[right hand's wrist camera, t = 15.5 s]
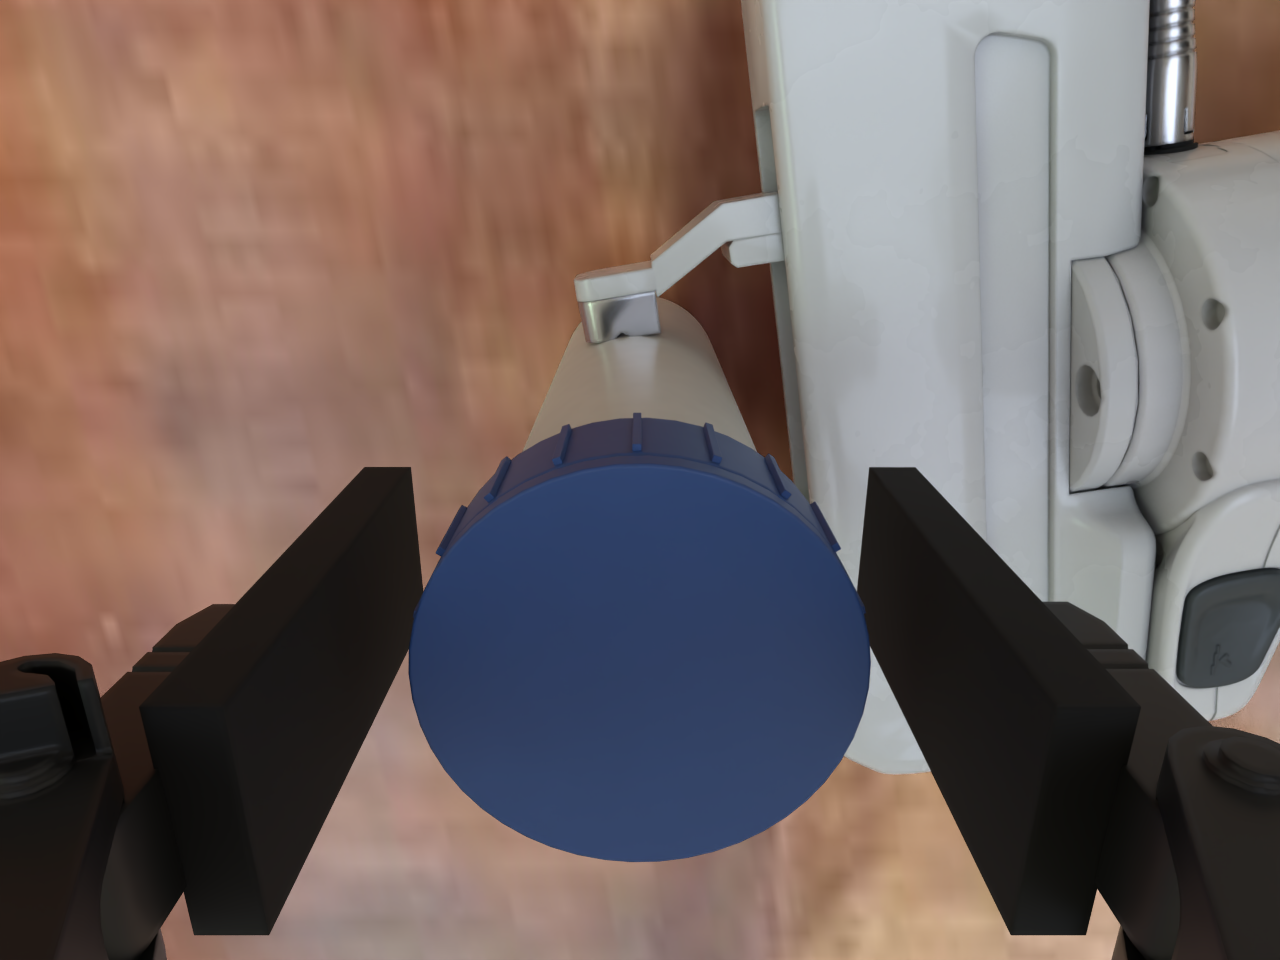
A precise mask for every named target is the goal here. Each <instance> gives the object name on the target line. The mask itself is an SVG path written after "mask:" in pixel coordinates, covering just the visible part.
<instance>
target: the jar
mask: <svg viewBox="0 0 1280 960" xmlns="http://www.w3.org/2000/svg"><path fill="white" fill-rule="evenodd" d="M656 300H657V307H658V314H659V322H660V330H661V333H657V334H651V335H645V336H633V337H630V336H628V335H626V334H624V333H622V332H621V333H620V334H619V335H618V336H617V337H616V338H615V339H613V340H610V341H607V342H603V343H587V342H586V340H585V335H584V331H583V326H582V321H581V323H580V324H579V325H578V326H577V328H576V330H575V331H574V333H573V334H572V337H571V339H570V341H569V343H568V345H567V348H566V350H565V352H564V355H563V357H562V359H561V362H560V364H559V367H558V369H557V371H556V374H555V376H554V378H553V381H552V383H551V385H550V388H549V390H548V392H547V395H546V397H545V400H544V402H543V404H542V407H541V409H540V411H539V414H538V416H537V418H536V421H535V423H534V425H533V428H532V430H531V433H530V435H529V437H528V440H527V442H526V444H525V447H524V449H523V451H525V450H527V449H528V448H530V447H532V446H533V445H535V444H537V443H538V442H540V441H542V440H544V439H547V438H549V437H551V436H554V435H556V434H558V433H560V432H561V428H562V426H564V425H567V424H570V426H571V429H572V428H575V427H579V426H582V425H586V424H589V423H593V422H600V421H606V420H613V419H619V418H633V413H641V418H656V419H666V420H676V421H680V422H685V423H689V424H693V425H698V426H702V427H704V424H705V423H709V424H712V425H713V428H714V431H716V432H718V433H721V434H724V435H726V436H729V437H731V438H733V439H735V440H737V441H738V442H740V443H742V444H744V445H746V446H748V447H750V448H752V449H753V450H755V451H756V448H755V446H754V444H753V441H752V439H751V436H750V434H749V432H748V429H747V427H746V425H745V422H744V420H743V418H742V415H741V413H740V410H739V408H738V406H737V403H736V401H735V399H734V396H733V394H732V392H731V389H730V387H729V384H728V382H727V380H726V377H725V375H724V373H723V370H722V368H721V366H720V363H719V361H718V358H717V356H716V354H715V351H714V349H713V347H712V344H711V342H710V340H709V338H708V335H707V334H706V332H705V330H704V329H703V327H702V326H701V325H700V323H699V322H698V321H697V320H696V319H695V318H694V317H693V316H692V315H691V314H690V313H689V312H688V311H686V310H685V309H684V308H682V307H681V306H679V305H677V304H675V303H673V302H671V301H669V300H666V299H663V298H661V297H656ZM523 451H522V452H523ZM756 452H757V451H756Z"/></svg>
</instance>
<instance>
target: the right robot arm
mask: <svg viewBox="0 0 1280 960" xmlns="http://www.w3.org/2000/svg"><path fill="white" fill-rule="evenodd" d="M422 593H423V584H422V574H421V564H420V554H419V544H418V534H417V524H416V514H415V504H414V494H413V484H412V474H411V467H364V468H363V469H362V470H361V471H360V473H359V474H358V475H357V476H356V477H355V478H354V479H353V480H352V481H351V482H350V483H349V484H348V485H347V486H346V487H345V488H344V490H343V491H342V492H341V493H340V494H339V495H338V496H337V497H336V498H335V499H334V500H333V501H332V502H331V503H330V504H329V505H328V506H327V508H326V509H325V510H324V511H323V512H322V513H321V514H320V515H319V516H318V517H317V518H316V519H315V520H314V521H313V522H312V523H311V525H310V526H309V527H308V528H307V529H306V530H305V531H304V532H303V533H302V534H301V535H300V536H299V537H298V538H297V539H296V540H295V542H294V543H293V544H292V545H291V546H290V547H289V548H288V549H287V550H286V551H285V552H284V553H283V554H282V555H281V556H280V557H279V559H278V560H277V561H276V562H275V563H274V564H273V565H272V566H271V567H270V568H269V569H268V570H267V571H266V572H265V573H264V574H263V575H262V577H261V578H260V579H259V580H258V581H257V582H256V583H255V584H254V585H253V586H252V587H251V588H250V589H249V590H248V591H247V592H246V594H245V595H244V596H243V597H242V598H241V599H240V600H239V601H238V602H237V603H236V604H213V605H211V606H209V607H207V608H205V609H203V610H202V611H200V612H198V613H196V614H194V615H192V616H191V617H189V618H187V619H185V620H183V621H182V622H180V623H178V624H176V625H175V626H174V627H173V628H172V629H171V630H170V631H169V632H168V633H167V634H166V635H165V636H164V637H163V638H162V639H161V640H160V641H159V642H158V643H157V644H156V645H155V646H154V647H153V650H152V652H147V653H146V654H145V655H144V656H143V657H142V658H141V659H140V660H139V661H138V662H137V663H136V664H135V665H134V666H133V670H132V672H127V673H126V674H125V675H124V676H123V677H122V678H121V679H120V680H119V681H118V682H116V683H115V684H114V685H113V686H112V687H111V688H110V689H109V690H108V691H107V692H106V693H105V694H104V695H103V696H102V697H101V698H100V695H99V691H98V687H97V683H96V679H95V675H94V672H93V668H92V665H91V664H90V663H88V662H87V661H85V660H84V659H82V658H81V657H79V656H73V655H65V654H57V653H52V654H41V655H30V656H23V657H19V658H15V659H11V660H6V661H2V662H0V960H167V957H166V950H165V945H164V941H163V937H162V933H161V929H160V928H161V926H162V925H163V923H164V921H165V920H166V918H167V917H168V915H169V914H170V912H171V910H172V909H173V907H174V906H175V904H176V903H177V901H178V899H179V898H180V896H181V895H182V893H183V892H184V895H185V899H186V904H187V908H188V912H189V916H190V920H191V924H192V928H193V932H194V935H269V934H270V932H271V930H272V928H273V926H274V924H275V922H276V920H277V918H278V916H279V914H280V912H281V910H282V908H283V906H284V904H285V901H286V899H287V897H288V895H289V893H290V891H291V889H292V887H293V885H294V883H295V881H296V879H297V877H298V875H299V873H300V871H301V869H302V867H303V865H304V863H305V860H306V858H307V856H308V854H309V852H310V850H311V848H312V846H313V844H314V842H315V840H316V838H317V836H318V834H319V832H320V830H321V828H322V826H323V824H324V822H325V819H326V817H327V815H328V813H329V811H330V809H331V807H332V805H333V803H334V801H335V799H336V797H337V795H338V793H339V791H340V789H341V787H342V785H343V783H344V781H345V778H346V776H347V774H348V772H349V770H350V768H351V766H352V764H353V762H354V760H355V758H356V756H357V754H358V752H359V750H360V748H361V746H362V744H363V742H364V740H365V737H366V735H367V733H368V731H369V729H370V727H371V725H372V723H373V721H374V719H375V717H376V715H377V713H378V711H379V709H380V707H381V705H382V703H383V701H384V699H385V697H386V694H387V692H388V690H389V688H390V686H391V684H392V682H393V680H394V678H395V676H396V674H397V672H398V670H399V668H400V666H401V664H402V662H403V660H404V658H405V656H406V653H407V651H408V649H409V644H410V637H411V631H412V625H413V620H414V618H413V613H414V610H415V608H416V606H417V604H418V602H419V600H420V598H421V596H422ZM857 593H858V595H859V597H860V598H861V600H862V602H863V604H864V606H865V611H866V613H865V614H864V616H865V621H866V625H867V629H868V634H869V642H870V647H871V649H872V651H873V653H874V655H875V658H876V660H877V662H878V664H879V666H880V668H881V670H882V672H883V674H884V676H885V678H886V680H887V682H888V684H889V686H890V688H891V690H892V692H893V694H894V696H895V699H896V701H897V703H898V705H899V707H900V709H901V711H902V713H903V715H904V717H905V719H906V721H907V723H908V725H909V727H910V729H911V731H912V733H913V735H914V737H915V740H916V742H917V744H918V746H919V748H920V750H921V752H922V754H923V756H924V758H925V760H926V762H927V764H928V766H929V768H930V770H931V772H932V774H933V776H934V778H935V781H936V783H937V785H938V787H939V789H940V791H941V793H942V795H943V797H944V799H945V801H946V803H947V805H948V807H949V809H950V811H951V813H952V815H953V817H954V819H955V822H956V824H957V826H958V828H959V830H960V832H961V834H962V836H963V838H964V840H965V842H966V844H967V846H968V848H969V850H970V852H971V854H972V856H973V858H974V860H975V863H976V865H977V867H978V869H979V871H980V873H981V875H982V877H983V879H984V881H985V883H986V885H987V887H988V889H989V891H990V893H991V895H992V897H993V899H994V901H995V904H996V906H997V908H998V910H999V912H1000V914H1001V916H1002V918H1003V920H1004V922H1005V924H1006V926H1007V928H1008V930H1009V932H1010V934H1011V935H1086V932H1087V928H1088V924H1089V920H1090V916H1091V912H1092V908H1093V904H1094V900H1095V895H1096V891H1097V889H1098V890H1099V892H1100V893H1101V895H1102V897H1103V898H1104V900H1105V901H1106V903H1107V904H1108V906H1109V908H1110V909H1111V911H1112V912H1113V914H1114V915H1115V917H1116V918H1117V920H1118V922H1119V923H1120V929H1119V933H1118V937H1117V941H1116V945H1115V948H1114V952H1113V956H1112V960H1280V744H1279V743H1276V742H1274V741H1272V740H1270V739H1268V738H1265V737H1262V736H1258V735H1254V734H1251V733H1247V732H1244V731H1240V730H1237V729H1232V728H1223V727H1213V726H1212V725H1211V724H1210V723H1209V722H1208V721H1207V720H1206V719H1205V718H1204V717H1203V716H1202V715H1201V714H1200V713H1199V712H1198V711H1197V710H1196V709H1195V708H1194V707H1193V706H1192V705H1191V704H1189V703H1188V702H1187V701H1186V700H1185V699H1184V698H1183V697H1182V696H1181V695H1180V694H1179V693H1178V692H1177V691H1176V690H1175V689H1174V688H1173V687H1172V686H1171V685H1170V684H1169V683H1168V682H1167V681H1166V680H1165V679H1163V678H1162V677H1161V676H1160V675H1159V674H1158V673H1157V672H1156V671H1155V670H1154V669H1149V668H1148V663H1147V662H1146V661H1145V660H1144V659H1143V658H1142V657H1141V656H1140V655H1139V654H1137V653H1136V652H1135V651H1134V650H1133V649H1128V644H1127V643H1126V642H1125V641H1124V640H1123V639H1122V638H1121V637H1120V636H1119V635H1118V634H1117V633H1116V632H1115V631H1114V630H1113V629H1112V628H1110V627H1109V626H1108V625H1107V624H1106V623H1105V622H1104V621H1103V620H1101V619H1099V618H1097V617H1095V616H1093V615H1092V614H1090V613H1088V612H1086V611H1084V610H1082V609H1081V608H1079V607H1077V606H1075V605H1073V604H1071V603H1069V602H1042V601H1041V600H1040V599H1039V598H1038V597H1037V596H1036V595H1035V594H1034V592H1033V591H1032V590H1031V589H1030V588H1029V587H1028V586H1027V585H1026V584H1025V583H1024V582H1023V581H1022V580H1021V579H1020V578H1019V577H1018V575H1017V574H1016V573H1015V572H1014V571H1013V570H1012V569H1011V568H1010V567H1009V566H1008V565H1007V564H1006V563H1005V562H1004V561H1003V560H1002V558H1001V557H1000V556H999V555H998V554H997V553H996V552H995V551H994V550H993V549H992V548H991V547H990V546H989V545H988V544H987V543H986V542H985V540H984V539H983V538H982V537H981V536H980V535H979V534H978V533H977V532H976V531H975V530H974V529H973V528H972V527H971V526H970V525H969V523H968V522H967V521H966V520H965V519H964V518H963V517H962V516H961V515H960V514H959V513H958V512H957V511H956V510H955V509H954V508H953V506H952V505H951V504H950V503H949V502H948V501H947V500H946V499H945V498H944V497H943V496H942V495H941V494H940V493H939V492H938V491H937V490H936V488H935V487H934V486H933V485H932V484H931V483H930V482H929V481H928V480H927V479H926V478H925V477H924V476H923V475H922V474H921V473H920V471H919V470H918V469H917V468H916V467H869V474H868V484H867V494H866V504H865V514H864V524H863V534H862V544H861V554H860V564H859V574H858V585H857Z"/></svg>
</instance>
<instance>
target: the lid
mask: <svg viewBox="0 0 1280 960" xmlns="http://www.w3.org/2000/svg"><path fill="white" fill-rule="evenodd" d="M839 550H841V547H840V545H839V543H838V542H837V540H836V538H835V536H834V534H833V532H832V530H831V529H830V527H829V525H828V523H827V521H826V519H825V518H824V516H823V514H822V512H821V510H820V508H819V506H818V505H817V503H816V502H813V503H811V504H809V502H808V501H807V499H806V498H805V497H804V496H803V494H802V493H801V492H800V491H799V489H798V488H797V487H796V486H795V484H794V483H793V482H792V481H791V480H790V479H789V478H788V477H787V476H786V475H785V474H784V473H783V472H782V471H780V469H779V467H778V465H777V462H776V460H775V458H774V457H773V456H771V455H770V454H768V455H767V456H766V457H765V458H764V457H763V456H762V455H760V454H759V453H757V452H756V451H755V450H753V449H752V448H750V447H748V446H746V445H744V444H742V443H740V442H738V441H737V440H735V439H733V438H731V437H729V436H726V435H724V434H721V433H718V432H716V431H714V428H713V425H712V424H709V423H705V424H704V427H702V426H698V425H693V424H689V423H685V422H680V421H676V420H666V419H656V418H641V413H633V418H619V419H613V420H606V421H600V422H593V423H589V424H586V425H582V426H579V427H575V428H572V429H571V426H570V424H567V425H564V426H562V428H561V432H560V433H558V434H556V435H554V436H551V437H549V438H547V439H544V440H542V441H540V442H538V443H537V444H535V445H533V446H532V447H530V448H528V449H527V450H525V451H523V452H522V453H520V454H518V455H517V456H516V457H515V458H513V459H512V460H510V459H509V458H508V457H505V458H504V459H503V460H502V461H501V463H500V465H499V467H498V469H497V471H496V473H495V474H494V475H493V476H492V477H491V479H490V480H489V481H488V482H487V483H486V484H485V485H484V486H483V487H482V488H481V489H480V490H479V492H478V493H477V495H476V496H475V497H474V499H473V500H472V502H471V503H470V505H469V506H468V507H465V506H463V505H461V507H460V509H459V510H458V512H457V514H456V516H455V518H454V520H453V521H452V523H451V525H450V527H449V529H448V531H447V533H446V534H445V536H444V538H443V540H442V542H441V544H440V545H439V547H438V549H437V551H436V554H438V555H440V556H441V558H440V560H439V562H438V564H437V566H436V568H435V570H434V572H433V574H432V576H431V578H430V580H429V582H428V584H427V586H426V588H425V589H424V591H423V593H422V596H421V598H420V600H419V602H418V604H417V606H416V608H415V610H414V613H413V618H414V620H413V625H412V631H411V637H410V644H409V679H410V686H411V693H412V700H413V703H414V706H415V710H416V713H417V716H418V720H419V723H420V726H421V728H422V730H423V733H424V735H425V737H426V739H427V741H428V743H429V745H430V748H431V749H432V751H433V753H434V754H435V756H436V757H437V759H438V760H439V762H440V763H441V765H442V767H443V768H444V770H445V771H446V772H447V773H448V775H449V776H450V777H451V778H452V779H453V780H454V782H455V783H456V784H457V785H458V786H459V788H460V789H461V790H462V791H463V792H464V793H465V794H466V795H468V796H469V797H470V798H471V799H472V800H473V801H474V802H475V803H476V804H477V805H478V806H480V807H481V808H482V809H483V810H485V811H486V812H487V813H489V814H490V815H492V816H493V817H494V818H496V819H497V820H499V821H500V822H501V823H503V824H505V825H506V826H508V827H510V828H512V829H514V830H515V831H517V832H519V833H521V834H523V835H524V836H526V837H528V838H531V839H533V840H536V841H538V842H540V843H543V844H545V845H548V846H550V847H553V848H556V849H559V850H563V851H566V852H570V853H573V854H576V855H581V856H586V857H592V858H597V859H603V860H612V861H625V862H657V861H667V860H675V859H683V858H689V857H693V856H697V855H702V854H706V853H710V852H714V851H717V850H720V849H723V848H726V847H729V846H731V845H734V844H737V843H740V842H742V841H744V840H746V839H748V838H750V837H752V836H754V835H757V834H759V833H761V832H763V831H765V830H766V829H768V828H769V827H771V826H773V825H774V824H776V823H777V822H779V821H781V820H782V819H784V818H785V817H787V816H788V815H789V814H791V813H792V812H793V811H794V810H796V809H797V808H798V807H799V806H801V805H802V804H803V803H804V802H806V801H807V800H808V799H809V798H810V797H811V796H812V795H813V794H814V793H815V792H816V791H817V790H818V789H819V788H820V787H821V786H822V785H823V784H824V783H825V781H826V780H827V779H828V777H829V776H830V775H831V773H832V772H833V771H834V769H835V768H836V767H837V765H838V764H839V763H840V761H841V760H842V758H843V756H844V755H845V753H846V751H847V749H848V747H849V746H850V744H851V742H852V740H853V738H854V736H855V733H856V731H857V728H858V726H859V723H860V721H861V718H862V715H863V712H864V708H865V703H866V699H867V695H868V690H869V682H870V669H871V655H870V642H869V634H868V629H867V625H866V621H865V616H864V614H865V613H866V611H865V606H864V604H863V602H862V600H861V598H860V597H859V595H858V593H857V591H856V589H855V587H854V585H853V583H852V581H851V579H850V577H849V575H848V574H847V572H846V570H845V568H844V566H843V564H842V562H841V560H840V559H839V557H838V555H837V553H836V552H837V551H839Z"/></svg>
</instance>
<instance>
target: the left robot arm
mask: <svg viewBox="0 0 1280 960" xmlns="http://www.w3.org/2000/svg"><path fill="white" fill-rule="evenodd" d="M741 6H742V17H743V26H744V35H745V44H746V53H747V62H748V71H749V81H750V90H751V99H752V108H753V117H754V126H755V136H756V145H757V154H758V163H759V172H760V181H761V190H762V193H756V194H751V195H745V196H740V197H734V198H729V199H723V200H718V201H713V202H712V203H711V204H710V205H709V206H708V207H706V208H705V209H704V210H703V211H702V212H701V213H699V214H698V215H697V216H696V217H695V218H693V219H692V220H691V221H690V222H689V223H688V224H686V225H685V226H684V227H683V228H682V229H680V230H679V231H678V232H677V233H676V234H675V235H673V236H672V237H671V238H670V239H669V240H667V241H666V242H665V243H664V244H663V245H662V246H660V247H659V248H658V249H657V250H656V251H654V252H653V253H652V254H651V255H650V257H651V260H650V261H644V262H638V263H632V264H627V265H621V266H615V267H609V268H603V269H597V270H592V271H589V272H585V273H582V274H578V275H576V277H575V278H574V285H575V291H576V297H577V301H578V307H579V311H580V316H581V321H582V326H583V331H584V335H585V340H586V342H587V343H603V342H607V341H610V340H613V339H615V338H616V337H617V336H618V335H619V334H620V333H621V332H622V333H624V334H626V335H628V336H630V337H633V336H645V335H651V334H657V333H661V330H660V322H659V314H658V307H657V300H656V294H657V297H659V296H660V295H661V294H663V293H664V292H665V291H666V290H668V289H669V288H670V287H671V286H672V285H674V284H675V283H676V282H677V281H679V280H680V279H681V278H682V277H684V276H685V275H686V274H687V273H688V272H690V271H691V270H692V269H693V268H695V267H696V266H697V265H698V264H700V263H701V262H702V261H703V260H705V259H706V258H707V257H708V256H709V255H711V254H712V253H713V252H714V251H716V250H717V249H718V248H719V247H721V249H722V255H723V256H724V257H725V258H726V259H727V260H728V261H729V262H730V263H731V264H732V265H734V266H735V267H737V268H738V267H745V266H752V265H758V264H765V263H769V264H770V273H771V282H772V291H773V300H774V309H775V319H776V328H777V337H778V346H779V355H780V364H781V373H782V383H783V392H784V401H785V410H786V419H787V428H788V438H789V447H790V456H791V465H792V474H793V483H794V484H795V486H796V487H797V488H798V489H799V491H800V492H801V493H802V494H803V496H804V497H805V498H806V499H807V501H808V502H809V504H811V503H813V502H816V503H817V505H818V506H819V508H820V510H821V512H822V514H823V516H824V518H825V519H826V521H827V523H828V525H829V527H830V529H831V530H832V532H833V534H834V536H835V538H836V540H837V542H838V543H839V545H840V547H841V550H839V551H837V552H836V553H837V555H838V557H839V559H840V560H841V562H842V564H843V566H844V568H845V570H846V572H847V574H848V575H849V577H850V579H851V581H852V583H853V585H854V587H855V589H856V591H857V585H858V574H859V564H860V554H861V544H862V534H863V524H864V514H865V504H866V494H867V484H868V474H869V467H916V468H917V469H918V470H919V471H920V473H921V474H922V475H923V476H924V477H925V478H926V479H927V480H928V481H929V482H930V483H931V484H932V485H933V486H934V487H935V488H936V490H937V491H938V492H939V493H940V494H941V495H942V496H943V497H944V498H945V499H946V500H947V501H948V502H949V503H950V504H951V505H952V506H953V508H954V509H955V510H956V511H957V512H958V513H959V514H960V515H961V516H962V517H963V518H964V519H965V520H966V521H967V522H968V523H969V525H970V526H971V527H972V528H973V529H974V530H975V531H976V532H977V533H978V534H979V535H980V536H981V537H982V538H983V539H984V540H985V542H986V543H987V544H988V545H989V546H990V547H991V548H992V549H993V550H994V551H995V552H996V553H997V554H998V555H999V556H1000V557H1001V558H1002V560H1003V561H1004V562H1005V563H1006V564H1007V565H1008V566H1009V567H1010V568H1011V569H1012V570H1013V571H1014V572H1015V573H1016V574H1017V575H1018V577H1019V578H1020V579H1021V580H1022V581H1023V582H1024V583H1025V584H1026V585H1027V586H1028V587H1029V588H1030V589H1031V590H1032V591H1033V592H1034V594H1035V595H1036V596H1037V597H1038V598H1039V599H1040V600H1041V601H1042V602H1069V603H1071V604H1073V605H1075V606H1077V607H1079V608H1081V609H1082V610H1084V611H1086V612H1088V613H1090V614H1092V615H1093V616H1095V617H1097V618H1099V619H1101V620H1103V621H1104V622H1105V623H1106V624H1107V625H1108V626H1109V627H1110V628H1112V629H1113V630H1114V631H1115V632H1116V633H1117V634H1118V635H1119V636H1120V637H1121V638H1122V639H1123V640H1124V641H1125V642H1126V643H1127V644H1128V649H1133V650H1134V651H1135V652H1136V653H1137V654H1139V655H1140V656H1141V657H1142V658H1143V659H1144V660H1145V661H1146V662H1147V663H1148V668H1149V669H1154V670H1155V671H1156V672H1157V673H1158V674H1159V675H1160V676H1161V677H1162V678H1163V679H1165V680H1166V681H1167V682H1168V683H1169V684H1170V685H1171V686H1172V687H1173V688H1174V689H1175V690H1176V691H1177V692H1178V693H1179V694H1180V695H1181V696H1182V697H1183V698H1184V699H1185V700H1186V701H1187V702H1188V703H1189V704H1191V705H1192V706H1193V707H1194V708H1195V709H1196V710H1197V711H1198V712H1199V713H1200V714H1201V715H1202V716H1203V717H1204V718H1205V719H1206V720H1207V721H1212V720H1217V719H1221V718H1225V717H1227V716H1230V715H1233V714H1235V713H1236V712H1238V711H1239V710H1241V709H1242V708H1243V707H1244V706H1245V705H1246V704H1247V703H1248V702H1249V700H1250V699H1251V698H1252V696H1253V695H1254V693H1255V691H1256V690H1257V688H1258V686H1259V684H1260V682H1261V680H1262V678H1263V676H1264V673H1265V671H1266V669H1267V667H1268V665H1269V663H1270V661H1271V659H1272V656H1273V654H1274V652H1275V650H1276V648H1277V646H1278V644H1279V642H1280V130H1278V131H1273V132H1267V133H1261V134H1255V135H1250V136H1244V137H1238V138H1232V139H1226V140H1220V141H1215V142H1206V143H1200V144H1198V143H1194V123H1195V105H1196V88H1197V52H1195V49H1196V38H1194V37H1193V36H1194V35H1195V24H1193V21H1194V20H1195V9H1193V7H1194V6H1195V0H741ZM655 291H656V293H655ZM870 655H871V669H870V682H869V690H868V695H867V699H866V703H865V708H864V712H863V715H862V718H861V721H860V723H859V726H858V728H857V731H856V733H855V736H854V738H853V740H852V742H851V744H850V746H849V747H848V749H847V751H846V753H845V755H844V756H845V757H846V758H848V759H850V760H852V761H854V762H856V763H858V764H860V765H862V766H865V767H867V768H869V769H872V770H874V771H876V772H879V773H883V774H894V775H896V774H915V773H924V772H931V770H930V768H929V766H928V764H927V762H926V760H925V758H924V756H923V754H922V752H921V750H920V748H919V746H918V744H917V742H916V740H915V737H914V735H913V733H912V731H911V729H910V727H909V725H908V723H907V721H906V719H905V717H904V715H903V713H902V711H901V709H900V707H899V705H898V703H897V701H896V699H895V696H894V694H893V692H892V690H891V688H890V686H889V684H888V682H887V680H886V678H885V676H884V674H883V672H882V670H881V668H880V666H879V664H878V662H877V660H876V658H875V655H874V653H873V651H872V649H871V647H870Z"/></svg>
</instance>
